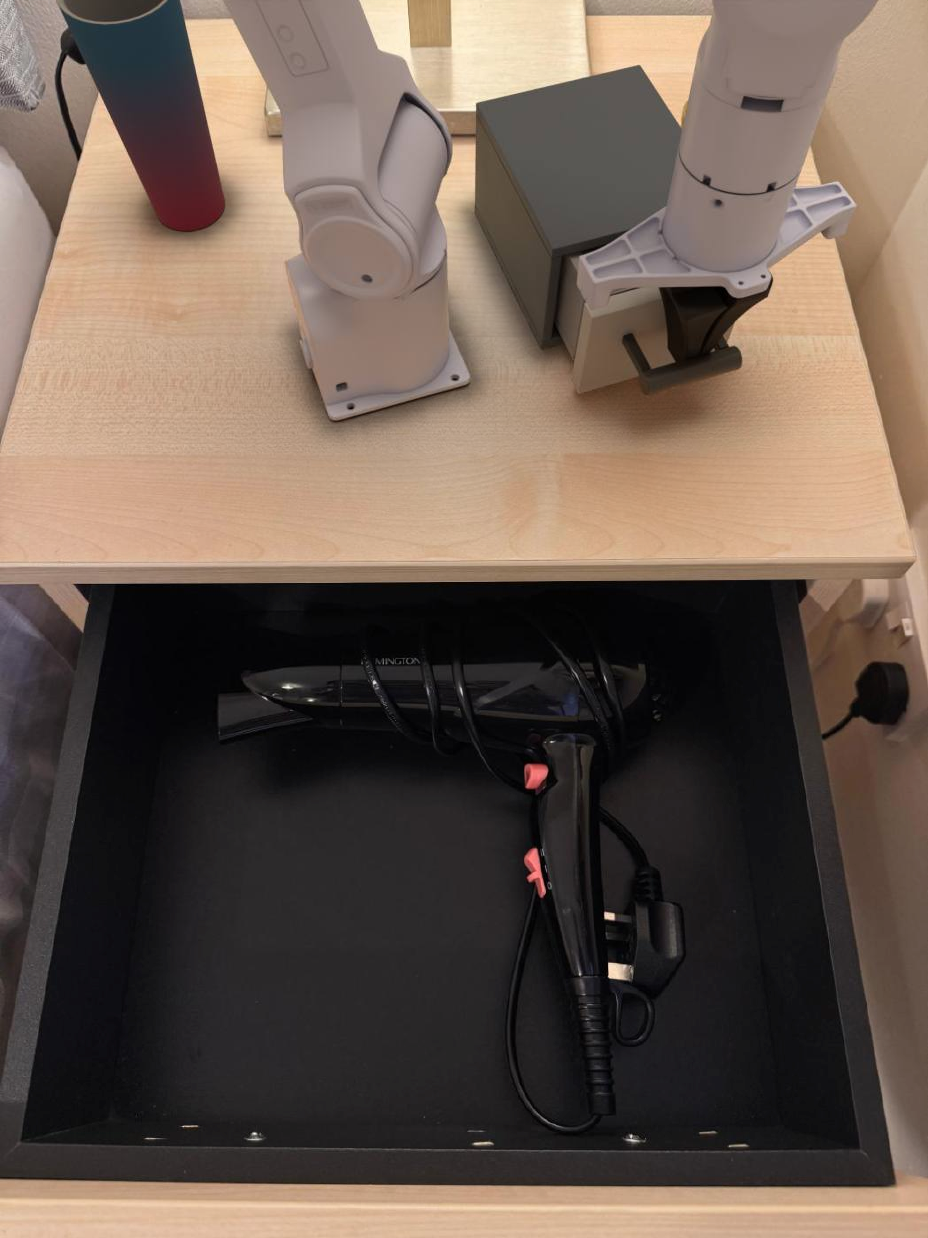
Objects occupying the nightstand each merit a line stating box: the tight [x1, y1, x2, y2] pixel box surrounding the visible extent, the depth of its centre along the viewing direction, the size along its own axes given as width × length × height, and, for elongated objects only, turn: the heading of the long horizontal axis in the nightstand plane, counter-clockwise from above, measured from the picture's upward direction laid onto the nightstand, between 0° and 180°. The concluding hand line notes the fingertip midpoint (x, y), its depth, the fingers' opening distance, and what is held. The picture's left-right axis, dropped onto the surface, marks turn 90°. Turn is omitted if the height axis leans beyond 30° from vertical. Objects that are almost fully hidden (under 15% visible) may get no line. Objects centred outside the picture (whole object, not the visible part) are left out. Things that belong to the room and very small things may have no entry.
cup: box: [56, 0, 226, 232], centre depth 57 cm, size 7×7×15 cm
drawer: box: [554, 243, 743, 397], centre depth 55 cm, size 17×10×7 cm, turn 19°
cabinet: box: [474, 64, 682, 350], centre depth 58 cm, size 13×11×8 cm
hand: (685, 355), depth 53 cm, fingers closed, pressing on drawer
